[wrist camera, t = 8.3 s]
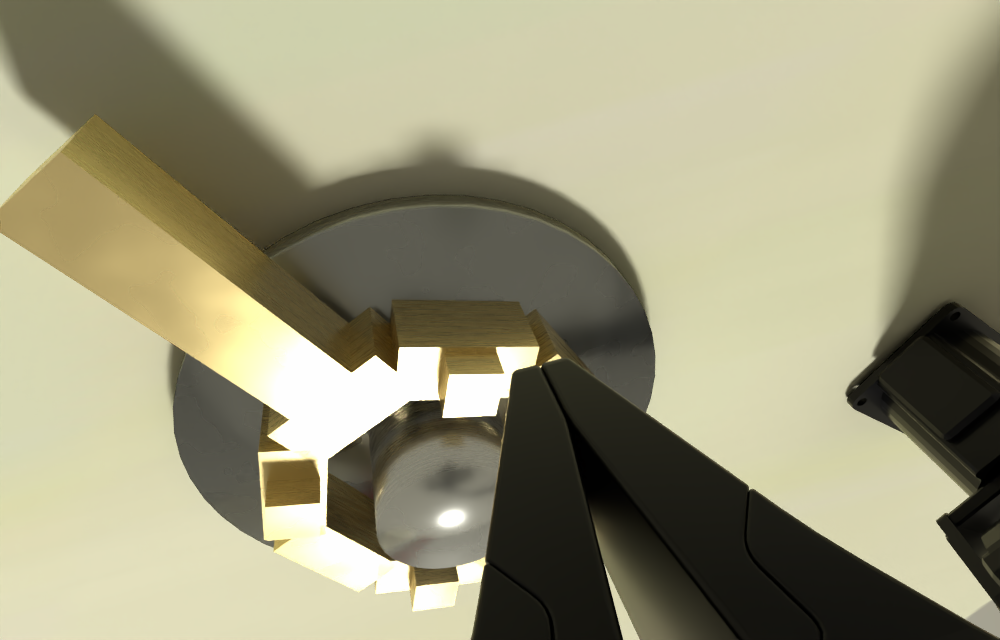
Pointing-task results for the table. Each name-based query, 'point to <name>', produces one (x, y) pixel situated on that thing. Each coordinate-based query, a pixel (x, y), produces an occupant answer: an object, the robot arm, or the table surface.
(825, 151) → the table surface
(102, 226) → the wooden gear crank
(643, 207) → the table surface
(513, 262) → the cap plate
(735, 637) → the robot arm
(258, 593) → the table surface
